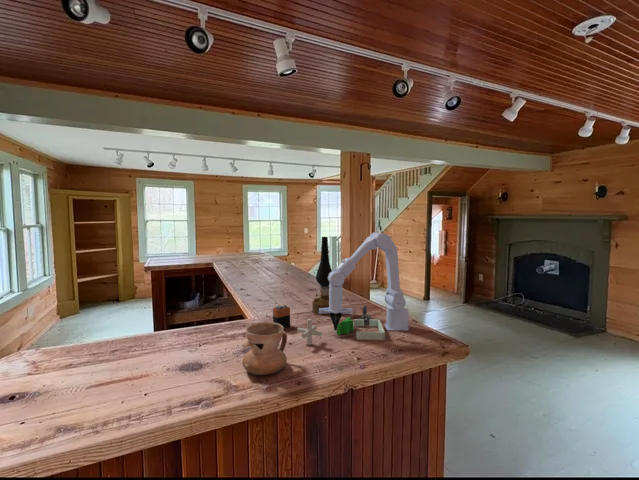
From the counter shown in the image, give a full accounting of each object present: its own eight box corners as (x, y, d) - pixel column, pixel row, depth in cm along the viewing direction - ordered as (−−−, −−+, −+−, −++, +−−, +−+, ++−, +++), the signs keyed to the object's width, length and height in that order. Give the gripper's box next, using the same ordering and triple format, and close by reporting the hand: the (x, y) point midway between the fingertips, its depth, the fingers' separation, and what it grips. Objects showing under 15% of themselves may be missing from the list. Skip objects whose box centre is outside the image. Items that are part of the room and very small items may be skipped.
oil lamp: (341, 316, 171) (356, 242, 171) (326, 319, 158) (342, 239, 158) (319, 309, 178) (334, 238, 178) (304, 311, 165) (319, 235, 165)
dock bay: (379, 325, 147) (379, 319, 146) (384, 339, 131) (385, 332, 131) (353, 325, 147) (353, 319, 147) (356, 339, 131) (356, 332, 131)
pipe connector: (326, 341, 130) (326, 317, 129) (315, 351, 121) (315, 325, 120) (304, 337, 134) (303, 314, 133) (292, 346, 125) (292, 321, 124)
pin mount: (370, 324, 148) (371, 316, 148) (361, 324, 148) (361, 316, 148) (370, 322, 151) (370, 314, 151) (361, 322, 152) (361, 314, 151)
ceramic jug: (255, 387, 96) (255, 341, 95) (230, 369, 106) (230, 328, 105) (300, 367, 109) (301, 326, 108) (274, 353, 119) (275, 316, 118)
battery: (272, 327, 145) (272, 305, 145) (285, 324, 149) (285, 303, 148) (277, 330, 142) (276, 308, 141) (290, 327, 146) (290, 305, 145)
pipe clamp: (345, 336, 135) (345, 326, 134) (337, 335, 136) (337, 324, 136) (356, 328, 144) (356, 318, 144) (348, 326, 146) (348, 316, 146)
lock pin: (368, 321, 149) (368, 310, 148) (364, 321, 149) (364, 310, 148) (366, 315, 157) (366, 305, 156) (362, 315, 157) (362, 305, 157)
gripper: (318, 301, 135) (318, 332, 136) (353, 301, 134) (352, 333, 135) (319, 296, 142) (319, 326, 143) (352, 297, 141) (351, 327, 142)
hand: (335, 329), depth 140 cm, fingers closed
